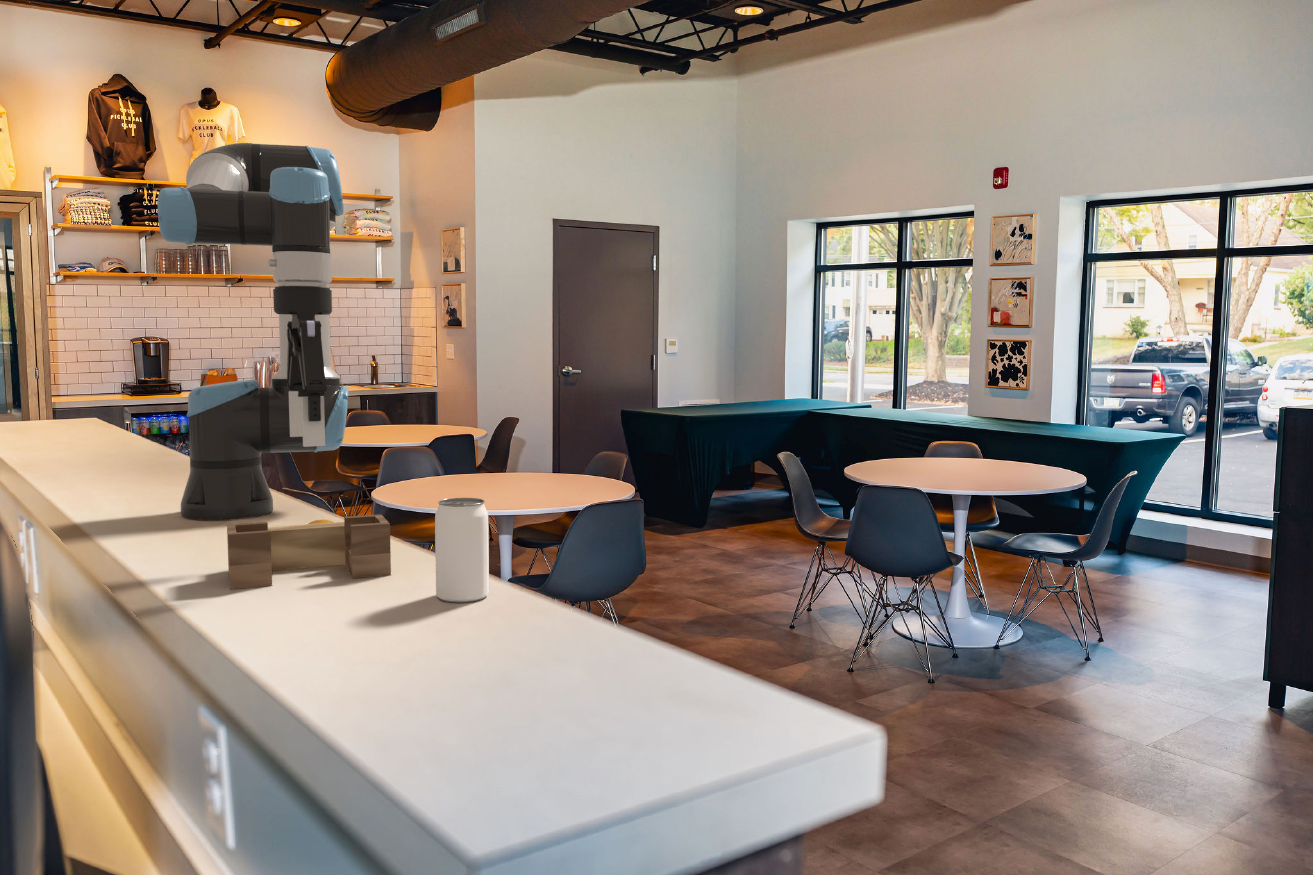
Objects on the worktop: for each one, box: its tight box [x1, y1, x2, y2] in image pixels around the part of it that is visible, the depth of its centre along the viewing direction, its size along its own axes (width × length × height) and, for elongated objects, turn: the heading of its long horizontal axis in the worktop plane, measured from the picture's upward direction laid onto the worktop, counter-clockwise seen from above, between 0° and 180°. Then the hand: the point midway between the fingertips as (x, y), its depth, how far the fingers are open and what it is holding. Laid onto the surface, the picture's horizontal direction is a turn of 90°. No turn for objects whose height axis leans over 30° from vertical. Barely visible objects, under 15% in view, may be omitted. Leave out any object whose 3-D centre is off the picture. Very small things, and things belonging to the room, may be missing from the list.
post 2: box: [343, 513, 392, 579], centre depth 140 cm, size 7×5×7 cm
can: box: [434, 497, 490, 604], centre depth 126 cm, size 6×6×12 cm
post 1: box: [226, 521, 273, 590], centre depth 134 cm, size 7×5×7 cm
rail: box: [268, 521, 345, 572], centre depth 143 cm, size 3×16×6 cm, turn 114°
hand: (306, 441), depth 141 cm, fingers open, 13 cm apart
